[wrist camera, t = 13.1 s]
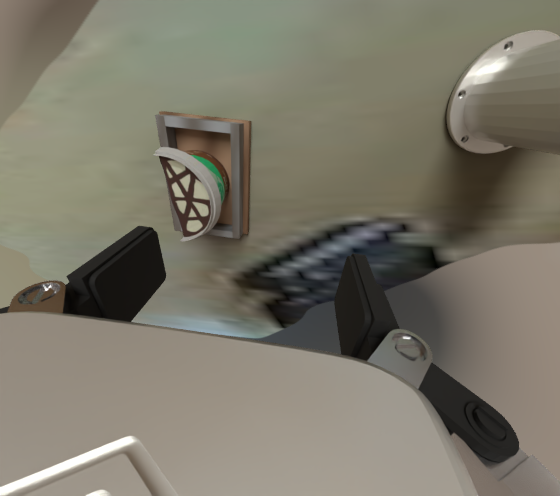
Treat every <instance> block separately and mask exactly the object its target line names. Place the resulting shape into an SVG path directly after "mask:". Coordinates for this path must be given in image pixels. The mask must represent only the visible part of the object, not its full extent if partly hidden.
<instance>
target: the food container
mask: <svg viewBox="0 0 560 496" xmlns="http://www.w3.org/2000/svg"><path fill="white" fill-rule="evenodd" d="M155 152H156V154H153V156H159V158H160V162H161V164H162V167H163V169H164V173H165V176H166V180H167V184H168V188H169V193H170V197H171V201H172V204H173V206H174V209H175V211H176V213H177V216H178V218H179V222H180V225H181V228H182V231H183V235H184V237H183V238H182V240H181V241H188V240H192V239H196V238H198V237H200V236H202V235H204V234H205V233H207V232H208V231H210V230H211V229H212V228H213V227H214V226H215V224H216V223H217V221H218V219H219V216H220V212H221V205H222V204H223V202H224V200H225V199H226V197H227V194H228V192H229V186H230V183H229V177H228V174H227V172H226V170H225V168H224V166H223V165H222V164H221V162H220V161H219V160H217V159H216V158H215V157H214V156H212V155H210V154H209V153H206V152H203V151H199V150H188V151H180V150H178V149H174V148H169V147H160V148H159V149H158V150H156V151H155Z"/></svg>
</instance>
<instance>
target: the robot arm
mask: <svg viewBox="0 0 560 496" xmlns="http://www.w3.org/2000/svg"><path fill="white" fill-rule="evenodd" d="M504 46H505V48H504ZM459 93H460V95H459V96H458V94H459ZM446 119H447V128H448V131H449V134H450V136H451V138H452V139H453V141H454V142H455V143H456V144H457V145H458V146H459V147H461V148H463V149H465V150H467V151H471V152H474V153H481V154H487V153H496V152H500V151H504V150H506V149H509V148H511V147H520V148H525V149H530V150H536V151H541V152H546V153H552V154H557V155H560V36H558V35H556V34H555V33H553V32H548V31H544V30H532V31H527V32H523V33H519V34H516V35H513V36H510V37H508V38H505V39H503V40H501V41H500V42H498V43H496V44H494V45H492V46H491V47H490V48H488V49H487V50H486V51H484V52H483V53H482V54H481V55H480V56H478V57H477V58H476V59H475V60H474V61H473V62H472V63H471V64H470V66H469V67H468V68H467V69H466V70H465V72H464V73H463V74H462V76H461V77H460V79H459V81H458V82H457V84H456V86H455V88H454V90H453V92H452V95H451V97H450V100H449V104H448V108H447V117H446ZM462 137H463V139H462ZM461 139H462V140H461ZM67 278H68V280H69V283H68V284H66V285H65V284H64V283H63V282H61V281H57V280H56V281H44V282H40V283H37V284H34V285H31V286H29V287H27V288H25V289H23V290H21V291H20V292H18V293H17V294H16V295H15V296H14V297H13V299H12V301H11V304H10V306H8V307H5V308H2V309H0V496H560V481H559V480H557V478H555V476H554V475H553V474H551V472H550V471H549V470H548V469H546V467H545V466H544V465H542V464H541V463H540V462H539V461H538V460H537V459H536V458H535V457H534V456H533V455H531V456H529V457H528V456H527V455H526V454H525V453H524V452H523V451H522V450H521V449H520V448H519V441H518V438H517V436H516V433H515V432H514V430H513V428H512V427H511V425H510V424H509V423H508V422H507V420H506V419H505V418H504V417H503V416H502V415H501V414H500V413H499V412H498V411H496V410H495V409H494V408H493V407H491V406H490V405H489V404H487V403H486V402H485V401H483V400H482V399H480V398H479V397H478V396H477V395H475V394H474V393H472V392H471V391H470V390H468V389H467V388H466V387H464V386H463V385H461V384H460V383H459V382H457V381H456V380H455V379H453V378H452V377H450V376H449V375H448V374H447V373H445V372H444V371H442V370H441V369H440V368H439V367H437V366H436V365H434V364H433V363H432V358H433V356H432V352H431V350H430V348H429V346H428V345H427V344H426V343H425V342H424V340H423V339H421V338H420V337H419V336H417V335H416V334H414V333H412V332H410V331H407V330H403V329H399V326H398V324H397V322H396V319H395V317H394V314H393V312H392V310H391V307H390V305H389V302H388V300H387V298H386V295H385V293H384V290H383V288H382V286H381V285H379V284H376V281H375V279H374V276H373V274H372V271H371V268H370V266H369V263H368V261H367V258H366V256H365V255H359V254H352V255H351V256H348V257H347V259H346V262H345V266H344V269H343V272H342V276H341V279H340V283H339V286H338V289H337V293H336V296H335V311H336V318H337V326H338V333H339V340H340V347H341V354H342V355H341V354H336V353H331V352H326V351H320V350H314V349H308V348H302V347H296V346H290V345H283V344H277V343H270V342H264V341H257V340H251V339H244V338H237V337H231V336H224V335H217V334H210V333H204V332H197V331H190V330H183V329H176V328H169V327H162V326H155V325H148V324H141V323H134V322H131V321H132V320H133V318H134V317H135V316H136V315H137V314H138V312H139V311H140V310H141V309H142V307H143V306H144V305H145V304H146V303H147V301H148V300H149V299H150V298H151V297H152V295H153V294H154V293H155V292H156V290H157V289H158V288H159V287H160V286H161V284H162V283H163V282H164V281H165V278H166V272H165V267H164V263H163V258H162V253H161V249H160V244H159V239H158V235H157V232H156V231H154V229H153V228H151V227H144V226H138V227H136V228H135V229H133V230H132V231H131V232H129V233H128V234H126V235H125V236H123V237H122V238H121V239H119V240H118V241H116V242H115V243H113V244H112V245H111V246H109V247H108V248H106V249H105V250H103V251H102V252H101V253H99V254H98V255H96V256H95V257H93V258H92V259H91V260H89V261H88V262H86V263H85V264H83V265H82V266H81V267H79V268H78V269H76V270H75V271H74V272H72V273H71V274H69V275H68V276H67Z"/></svg>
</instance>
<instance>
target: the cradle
mask: <svg viewBox="0 0 560 496" xmlns="http://www.w3.org/2000/svg"><path fill="white" fill-rule="evenodd" d="M159 113H160V115H155V117H156V122H157V128H158V134H159V140H160V146H161V147H169V148H174V149H178V150H180V151H188V150H199V151H203V152H206V153H209V154H210V155H212V156H214V157H215V158H216V159H217V160H219V161H220V162H221V164H222V165H223V166H224V168H225V170H226V172H227V174H228V177H229V183H230V186H229V192H228V194H227V197H226V199H225V200H224V202H223V204H222V205H221V212H220V216H219V219H218V221H217V223H216V224H215V226H214V227H213V228H212V229H211V230H210V231H208V232H207V233H205V234H206V235H213V236H221V237H229V238H236V239H240V237H241V235H242V234H248V232H249V193H250V147H251V121H245V120H236V119H227V118H218V117H209V116H200V115H191V114H182V113H173V112H159ZM166 182H167V180H166ZM167 188H168V184H167ZM168 194H169V200H170V206H171V211H172V217H173V223H174V229H175V231H182V228H181V225H180V222H179V218H178V216H177V213H176V211H175V209H174V206H173V204H172V201H171V197H170V193H169V188H168Z"/></svg>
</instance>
